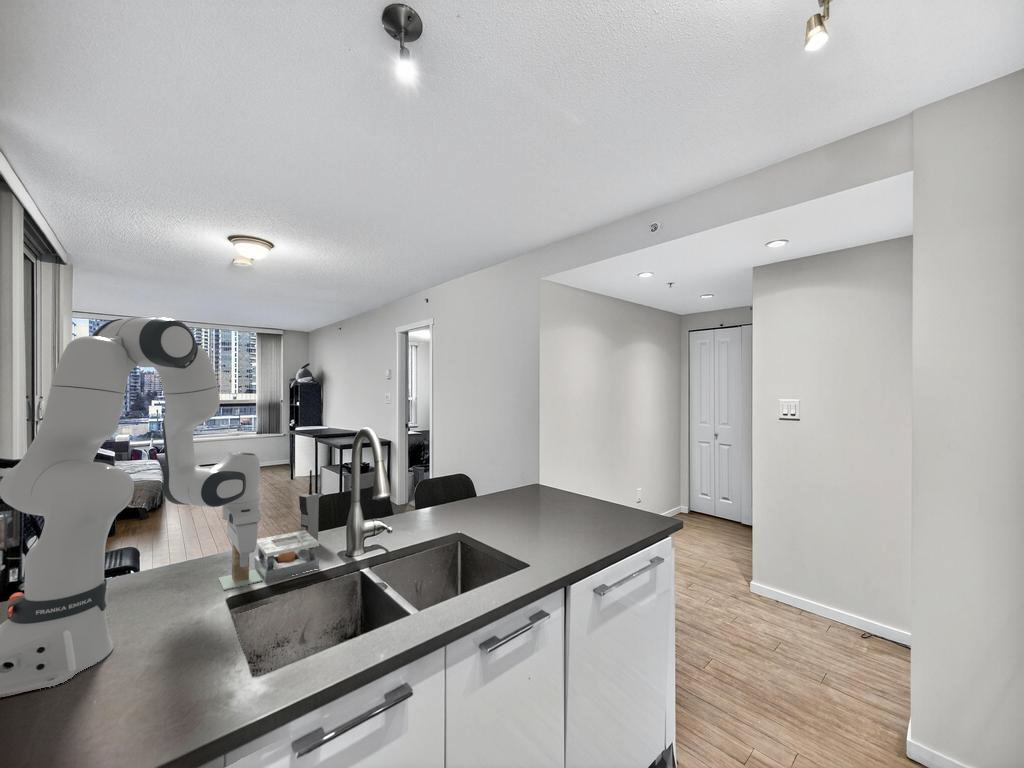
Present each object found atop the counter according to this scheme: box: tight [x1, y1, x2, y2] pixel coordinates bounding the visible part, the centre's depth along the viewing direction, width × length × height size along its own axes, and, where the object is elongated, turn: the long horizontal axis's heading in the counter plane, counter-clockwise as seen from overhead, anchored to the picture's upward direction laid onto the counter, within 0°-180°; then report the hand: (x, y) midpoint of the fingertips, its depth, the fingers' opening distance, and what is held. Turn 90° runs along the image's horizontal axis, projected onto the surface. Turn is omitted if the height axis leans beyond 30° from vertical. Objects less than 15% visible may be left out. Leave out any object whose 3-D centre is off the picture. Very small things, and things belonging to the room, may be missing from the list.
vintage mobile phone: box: [298, 469, 320, 542], centre depth 153 cm, size 4×5×25 cm
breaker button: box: [278, 551, 295, 564], centre depth 133 cm, size 4×4×4 cm
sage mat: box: [217, 569, 263, 591], centre depth 124 cm, size 9×9×1 cm
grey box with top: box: [254, 530, 320, 584], centre depth 133 cm, size 14×14×8 cm
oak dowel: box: [231, 546, 250, 583], centre depth 124 cm, size 4×4×9 cm
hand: (240, 560), depth 124 cm, fingers open, 8 cm apart
